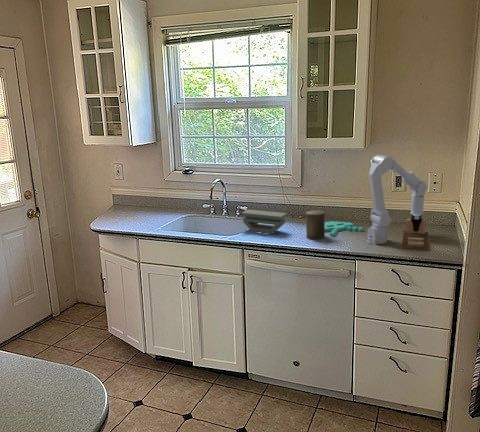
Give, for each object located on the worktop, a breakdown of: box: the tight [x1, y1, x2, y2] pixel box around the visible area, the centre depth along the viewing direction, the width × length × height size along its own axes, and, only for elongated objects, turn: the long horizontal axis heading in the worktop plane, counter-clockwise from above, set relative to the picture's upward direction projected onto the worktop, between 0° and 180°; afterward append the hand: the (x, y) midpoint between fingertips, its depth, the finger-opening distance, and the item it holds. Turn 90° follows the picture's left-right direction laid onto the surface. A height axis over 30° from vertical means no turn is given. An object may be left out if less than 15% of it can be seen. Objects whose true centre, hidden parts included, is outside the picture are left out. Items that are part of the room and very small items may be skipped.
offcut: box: [408, 237, 423, 242], centre depth 219 cm, size 2×7×3 cm, turn 69°
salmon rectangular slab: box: [405, 218, 427, 234], centre depth 230 cm, size 2×9×8 cm, turn 69°
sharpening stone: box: [240, 209, 288, 235], centre depth 253 cm, size 25×8×11 cm, turn 60°
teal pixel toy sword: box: [325, 220, 364, 238], centre depth 251 cm, size 20×2×20 cm
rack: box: [400, 230, 431, 252], centre depth 222 cm, size 26×13×3 cm, turn 159°
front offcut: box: [408, 242, 424, 246], centre depth 214 cm, size 2×7×3 cm, turn 69°
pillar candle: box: [305, 209, 326, 240], centre depth 238 cm, size 10×10×15 cm
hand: (415, 229), depth 230 cm, fingers open, 7 cm apart
